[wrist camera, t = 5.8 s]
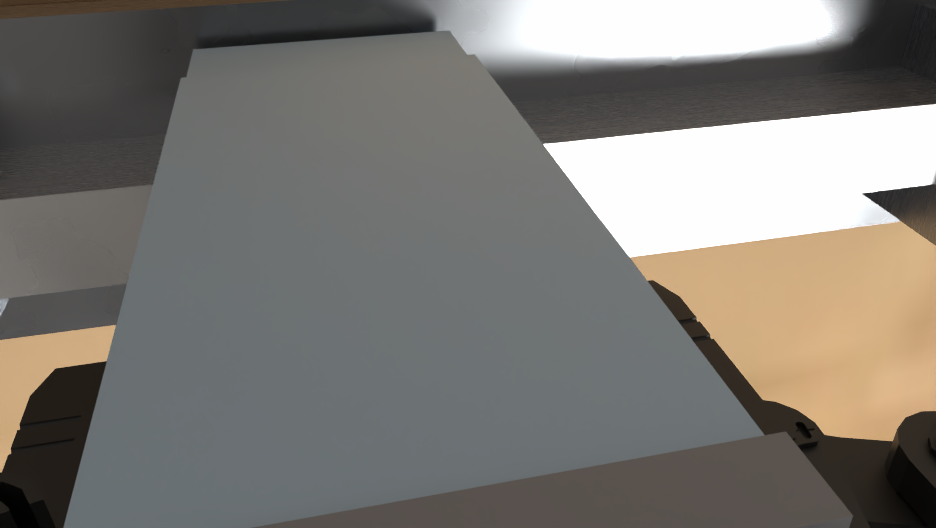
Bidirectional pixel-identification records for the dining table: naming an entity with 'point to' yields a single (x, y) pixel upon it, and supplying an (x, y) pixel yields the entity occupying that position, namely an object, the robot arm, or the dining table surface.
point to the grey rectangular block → (402, 324)
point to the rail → (528, 88)
